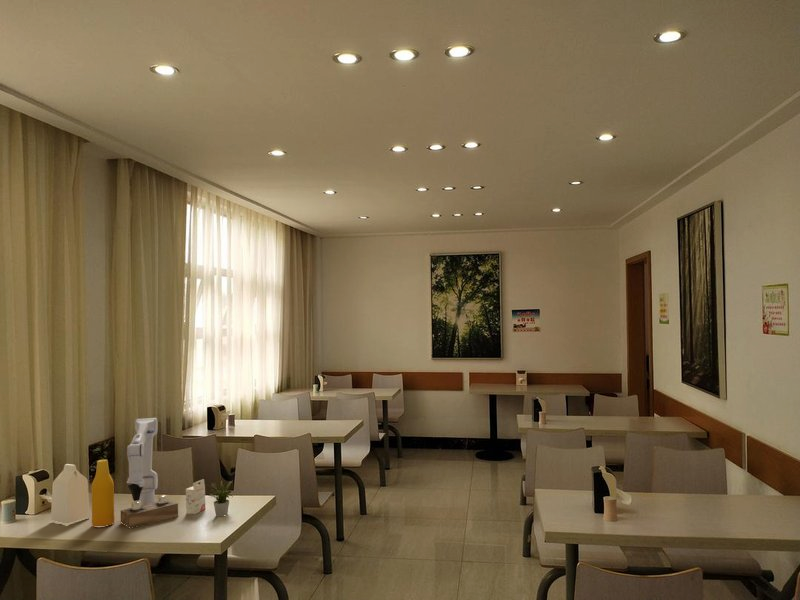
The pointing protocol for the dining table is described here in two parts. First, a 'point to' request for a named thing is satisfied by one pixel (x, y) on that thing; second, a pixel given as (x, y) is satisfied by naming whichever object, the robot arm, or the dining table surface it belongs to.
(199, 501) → the ink cartridge box
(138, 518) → the walnut block
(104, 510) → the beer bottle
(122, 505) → the dining table surface
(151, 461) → the robot arm
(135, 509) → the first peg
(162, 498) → the peg
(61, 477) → the milk
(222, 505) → the house plant
